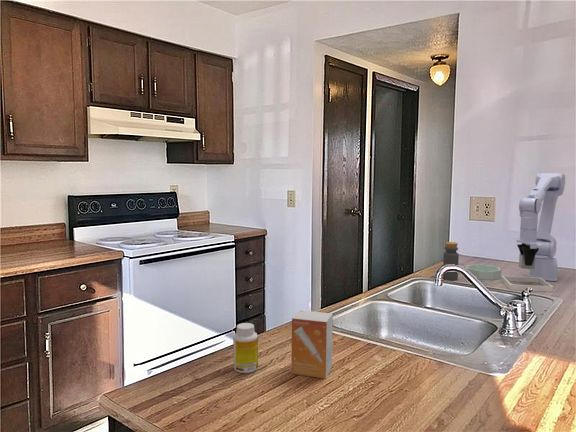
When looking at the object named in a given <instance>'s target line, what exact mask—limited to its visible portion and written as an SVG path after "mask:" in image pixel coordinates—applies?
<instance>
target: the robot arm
mask: <svg viewBox="0 0 576 432" xmlns="http://www.w3.org/2000/svg"><path fill="white" fill-rule="evenodd" d="M565 185H566V175H565V173H563V172H538V173H537V174H536V176H535V187H532V188H531V189H530V190H529V192H528V193H527V195H526V196H525V197H522V198H521V199H519V203H518V210H519V217H520V229H519V239H516V240H515V242H516V243H519V244H517V245H516V246H517V248H518V250H519V255H520V254H524V258H525V265H527V266H532V264H533V260H534V257H535V269H529V274H526V276H525V277H541V278H542V279H543V280H545V281H546V282H547V281H548V282H552V281H553V282H557V281H558V261H557V258H555V256H556V253H557V243H558V241H557V240H556V238H555V237H554V236H552V235H551V232H552V227H553V222H554V216H555V211H556V205H557V201H558V198H559V197H561V196H562V195H563V194H564V191H565ZM539 213H540V216H539ZM538 219H539V220H538ZM520 243H521V244H520Z"/></svg>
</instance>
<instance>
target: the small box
mask: <svg viewBox="0 0 576 432" xmlns="http://www.w3.org/2000/svg"><path fill="white" fill-rule="evenodd" d="M333 315H334V314H333V313H332V312H331V313H330V312H321V311H310V310H301V309H299V310H298V311H297V312H296V313H295V314H294V315H293V317H292V318H291V367H290V368H291V370H290V371H291V372H290V373H291V375H298V376H299V375H300V376H306V377H312V378H318V379H325V380H326V379H327V377H328V375H329V373H330V372H331V369H332V367H333V322H334V321H333V320H334V317H333Z"/></svg>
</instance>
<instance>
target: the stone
mask: <svg viewBox="0 0 576 432" xmlns="http://www.w3.org/2000/svg"><path fill="white" fill-rule="evenodd" d="M518 259H519V260H518V267H519V268H520V269H522V270H524V269H525V270H530V269H535V257H534V260H533V264H532V266H527V265H525V258H524V254H520V253H519V256H518Z"/></svg>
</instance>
